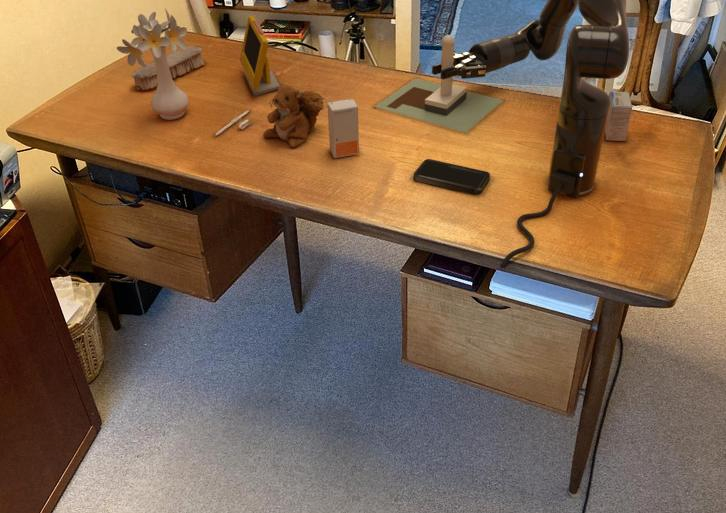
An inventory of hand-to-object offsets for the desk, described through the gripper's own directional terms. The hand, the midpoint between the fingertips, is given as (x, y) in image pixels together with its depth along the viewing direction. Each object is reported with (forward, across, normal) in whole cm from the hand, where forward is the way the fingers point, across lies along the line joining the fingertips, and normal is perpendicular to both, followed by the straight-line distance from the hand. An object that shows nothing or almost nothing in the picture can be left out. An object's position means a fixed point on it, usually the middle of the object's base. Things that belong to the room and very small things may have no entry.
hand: (437, 72), depth 170 cm
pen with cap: (+44, -22, +10) cm, 50 cm away
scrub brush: (-3, 0, +9) cm, 10 cm away
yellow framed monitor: (+29, -40, +10) cm, 50 cm away
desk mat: (-2, -2, +10) cm, 10 cm away
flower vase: (+56, -36, +10) cm, 67 cm away
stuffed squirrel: (+35, -9, +10) cm, 37 cm away
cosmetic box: (+30, +5, +10) cm, 32 cm away
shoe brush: (+47, -60, +10) cm, 77 cm away
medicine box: (-25, +34, +10) cm, 44 cm away
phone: (+17, +28, +10) cm, 34 cm away
